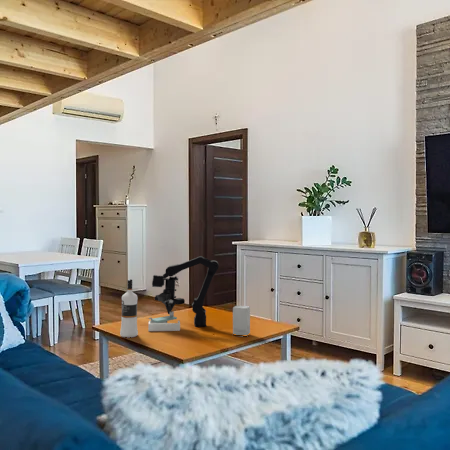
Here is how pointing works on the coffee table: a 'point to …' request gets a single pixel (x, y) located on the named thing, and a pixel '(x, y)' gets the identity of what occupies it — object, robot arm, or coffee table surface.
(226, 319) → the coffee table surface
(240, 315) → the skincare box
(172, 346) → the coffee table surface
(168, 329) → the channel
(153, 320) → the cover
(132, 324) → the vodka
